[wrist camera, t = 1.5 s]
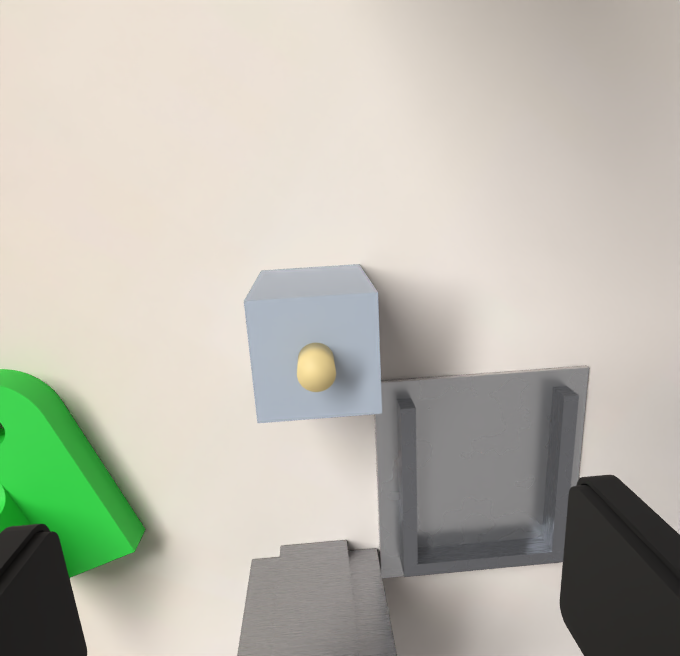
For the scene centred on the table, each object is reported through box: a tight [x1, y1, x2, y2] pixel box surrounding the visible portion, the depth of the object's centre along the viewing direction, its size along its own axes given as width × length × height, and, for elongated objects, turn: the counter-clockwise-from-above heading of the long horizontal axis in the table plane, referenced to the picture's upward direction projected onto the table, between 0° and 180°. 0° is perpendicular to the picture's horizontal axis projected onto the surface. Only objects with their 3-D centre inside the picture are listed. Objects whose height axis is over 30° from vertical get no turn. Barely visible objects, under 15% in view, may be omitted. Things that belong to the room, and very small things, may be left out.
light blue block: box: [244, 264, 382, 423], centre depth 21 cm, size 5×5×8 cm
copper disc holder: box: [237, 540, 397, 656], centre depth 27 cm, size 8×8×8 cm
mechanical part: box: [0, 369, 145, 579], centre depth 23 cm, size 12×6×8 cm, turn 23°
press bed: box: [375, 366, 589, 578], centre depth 28 cm, size 13×12×2 cm
